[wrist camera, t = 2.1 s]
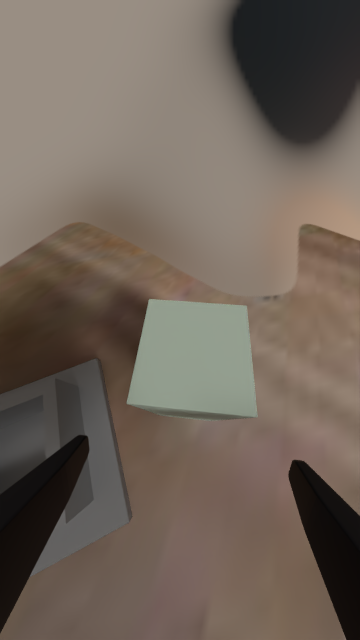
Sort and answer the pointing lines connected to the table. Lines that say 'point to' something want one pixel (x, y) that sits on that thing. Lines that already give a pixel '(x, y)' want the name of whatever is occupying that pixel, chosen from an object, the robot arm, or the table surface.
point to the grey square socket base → (52, 434)
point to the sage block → (194, 362)
